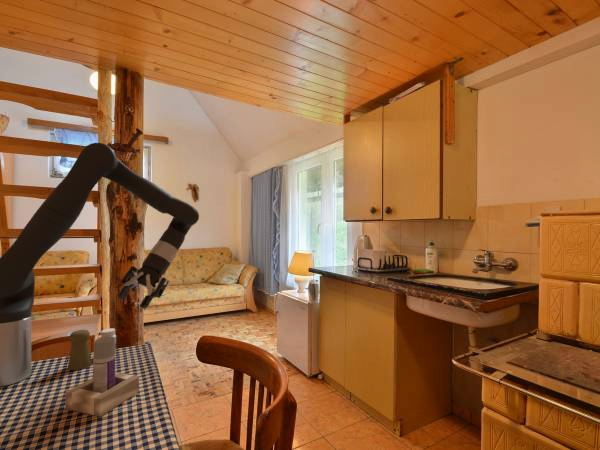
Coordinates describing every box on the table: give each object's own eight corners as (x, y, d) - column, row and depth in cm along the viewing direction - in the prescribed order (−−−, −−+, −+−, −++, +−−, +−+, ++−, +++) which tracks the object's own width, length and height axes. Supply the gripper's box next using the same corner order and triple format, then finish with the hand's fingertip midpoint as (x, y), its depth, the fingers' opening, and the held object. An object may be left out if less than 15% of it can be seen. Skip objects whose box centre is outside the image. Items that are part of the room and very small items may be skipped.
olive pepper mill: (78, 371, 91) (79, 334, 92) (62, 369, 93) (62, 333, 93) (96, 362, 97) (96, 328, 97) (80, 361, 99) (80, 327, 99)
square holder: (65, 408, 73) (65, 391, 73) (106, 385, 83) (106, 370, 83) (100, 416, 70) (100, 399, 70) (138, 391, 80) (138, 376, 80)
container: (110, 392, 80) (110, 335, 80) (118, 398, 77) (118, 339, 77) (89, 400, 76) (90, 340, 76) (97, 407, 73) (98, 344, 74)
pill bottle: (97, 355, 103) (97, 330, 103) (113, 350, 107) (113, 326, 107) (101, 359, 100) (101, 333, 100) (117, 354, 103) (117, 330, 104)
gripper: (137, 246, 100) (105, 292, 92) (172, 258, 96) (142, 307, 88) (149, 256, 106) (121, 299, 99) (183, 268, 102) (155, 314, 95)
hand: (131, 303), depth 93 cm, fingers open, 8 cm apart
